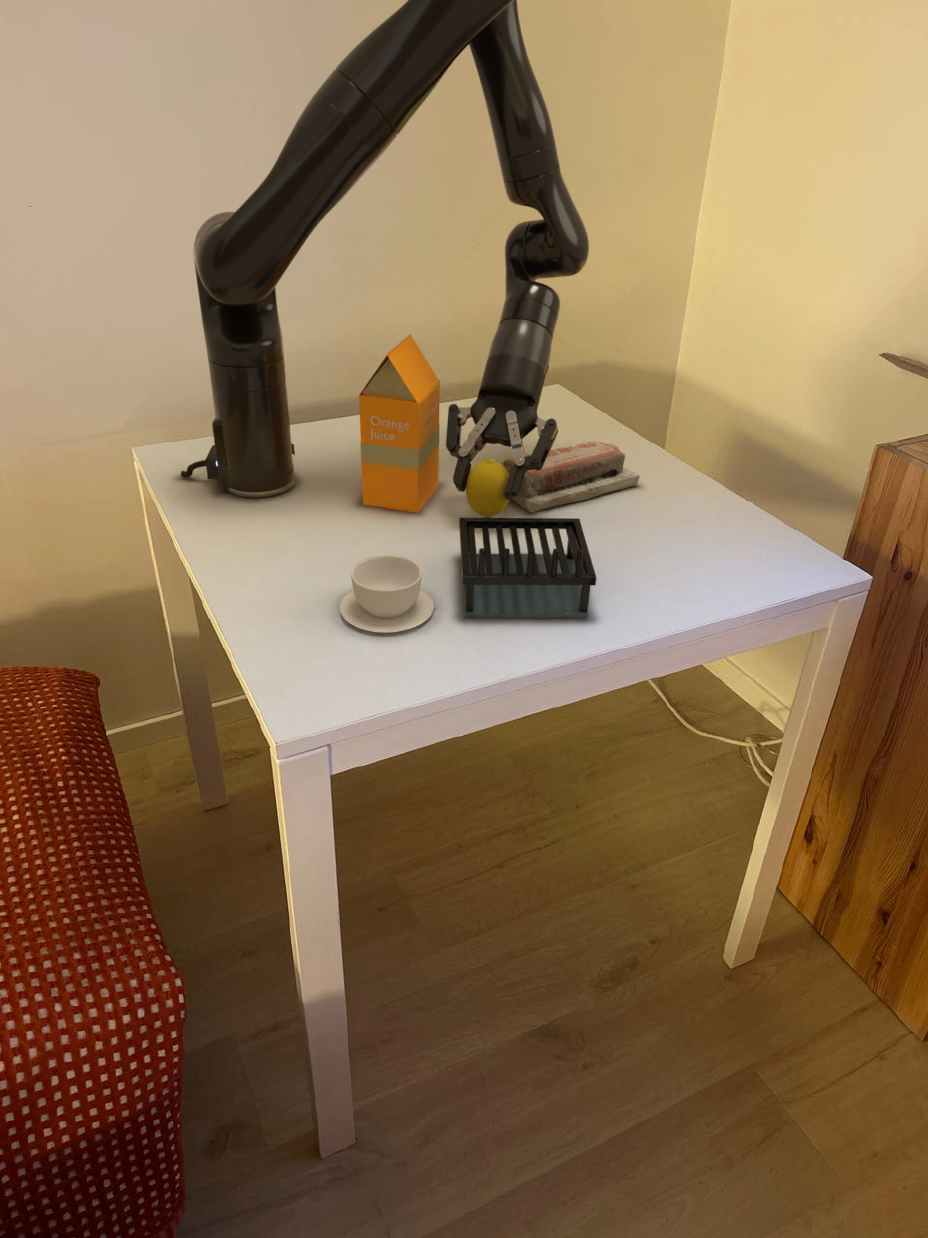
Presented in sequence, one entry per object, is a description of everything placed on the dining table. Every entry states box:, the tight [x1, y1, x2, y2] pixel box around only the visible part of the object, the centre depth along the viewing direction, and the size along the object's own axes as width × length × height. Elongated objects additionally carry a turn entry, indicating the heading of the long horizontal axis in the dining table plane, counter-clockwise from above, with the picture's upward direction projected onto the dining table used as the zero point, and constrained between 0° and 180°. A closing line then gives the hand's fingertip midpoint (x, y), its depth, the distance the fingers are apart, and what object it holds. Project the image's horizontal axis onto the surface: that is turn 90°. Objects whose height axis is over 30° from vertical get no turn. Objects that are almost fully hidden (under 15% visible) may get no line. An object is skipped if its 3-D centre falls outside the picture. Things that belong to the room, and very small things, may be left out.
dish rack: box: [458, 517, 597, 619], centre depth 101 cm, size 14×13×8 cm
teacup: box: [339, 554, 435, 633], centre depth 98 cm, size 10×10×5 cm
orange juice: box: [358, 333, 441, 514], centre depth 117 cm, size 8×9×20 cm
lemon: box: [465, 458, 510, 518], centre depth 113 cm, size 6×6×8 cm
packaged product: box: [502, 441, 641, 513], centre depth 124 cm, size 18×5×10 cm
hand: (484, 493), depth 112 cm, fingers closed on lemon, 5 cm apart
